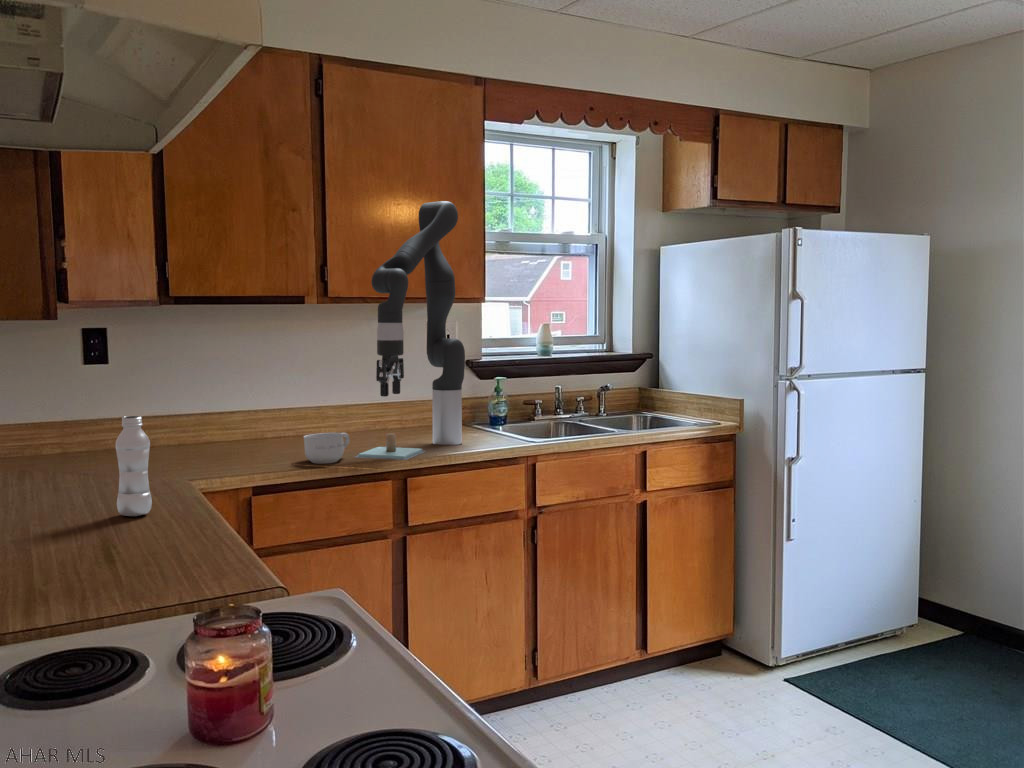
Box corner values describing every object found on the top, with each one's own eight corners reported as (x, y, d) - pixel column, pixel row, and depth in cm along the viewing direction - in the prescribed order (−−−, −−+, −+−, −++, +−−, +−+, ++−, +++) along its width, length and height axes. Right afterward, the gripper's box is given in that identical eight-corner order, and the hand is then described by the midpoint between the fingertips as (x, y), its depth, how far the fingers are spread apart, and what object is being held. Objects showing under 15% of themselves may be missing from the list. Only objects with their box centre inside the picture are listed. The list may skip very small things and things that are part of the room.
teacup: (314, 467, 225) (314, 437, 224) (297, 462, 233) (296, 433, 233) (361, 462, 234) (361, 433, 233) (342, 457, 242) (342, 429, 242)
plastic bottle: (142, 510, 175) (139, 414, 173) (158, 515, 171) (155, 416, 169) (110, 516, 170) (107, 417, 168) (127, 521, 166) (123, 419, 164)
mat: (376, 450, 255) (376, 448, 255) (426, 452, 251) (426, 451, 251) (353, 458, 239) (353, 457, 239) (406, 461, 235) (406, 459, 235)
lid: (378, 449, 254) (378, 430, 253) (422, 451, 250) (422, 431, 249) (358, 456, 240) (358, 436, 240) (404, 459, 236) (404, 438, 236)
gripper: (392, 339, 235) (392, 397, 236) (411, 338, 248) (412, 393, 249) (367, 339, 236) (368, 397, 238) (388, 338, 250) (388, 392, 251)
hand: (390, 395), depth 244 cm, fingers open, 8 cm apart
